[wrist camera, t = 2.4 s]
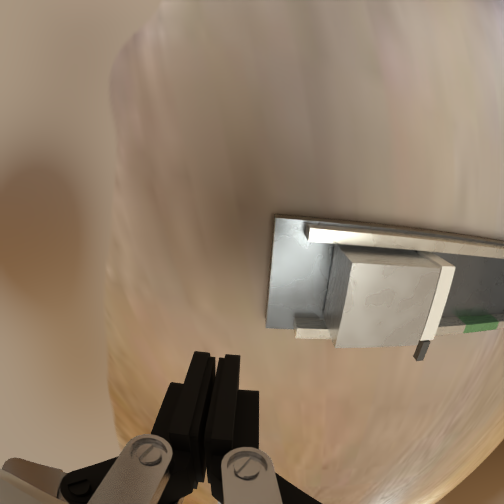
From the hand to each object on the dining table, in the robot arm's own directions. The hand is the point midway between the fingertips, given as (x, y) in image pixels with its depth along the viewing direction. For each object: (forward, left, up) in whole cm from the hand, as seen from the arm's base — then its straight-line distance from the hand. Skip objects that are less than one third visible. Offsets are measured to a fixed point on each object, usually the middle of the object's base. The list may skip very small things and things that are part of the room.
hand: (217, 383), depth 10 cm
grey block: (-1, +9, -10) cm, 14 cm away
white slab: (0, +13, -10) cm, 17 cm away
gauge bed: (-1, +16, -12) cm, 20 cm away
